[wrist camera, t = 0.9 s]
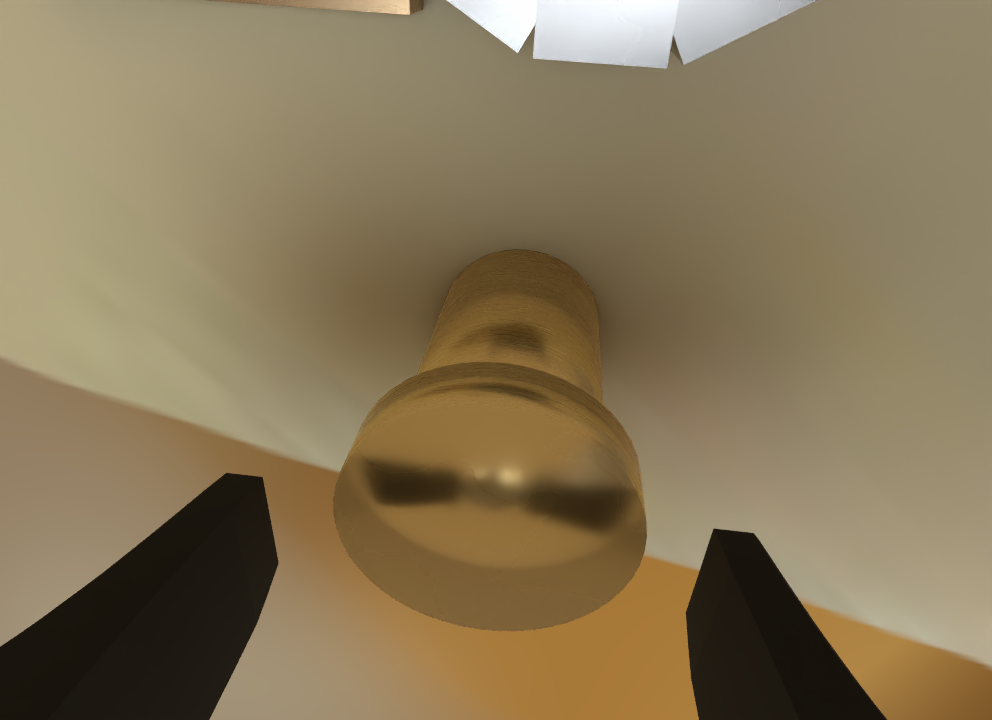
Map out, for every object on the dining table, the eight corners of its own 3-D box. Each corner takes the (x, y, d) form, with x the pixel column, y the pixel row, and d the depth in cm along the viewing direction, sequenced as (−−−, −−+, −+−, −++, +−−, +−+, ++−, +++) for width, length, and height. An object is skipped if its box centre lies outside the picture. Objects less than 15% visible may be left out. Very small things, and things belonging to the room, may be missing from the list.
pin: (639, 236, 15) (676, 426, 9) (606, 413, 18) (619, 647, 12) (420, 216, 16) (319, 388, 10) (421, 393, 19) (344, 611, 12)
